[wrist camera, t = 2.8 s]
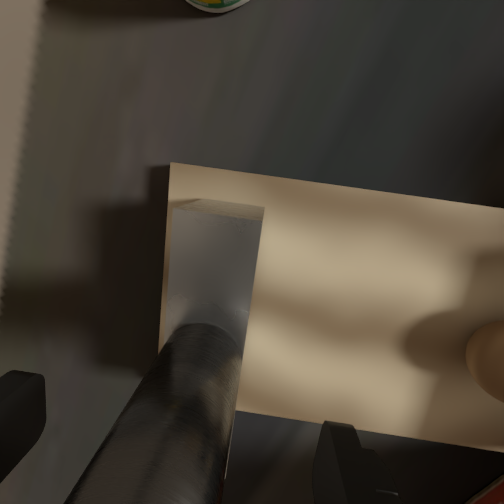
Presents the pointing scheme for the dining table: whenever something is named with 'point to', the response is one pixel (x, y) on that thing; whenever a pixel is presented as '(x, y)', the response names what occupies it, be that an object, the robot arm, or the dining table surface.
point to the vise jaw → (186, 369)
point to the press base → (362, 305)
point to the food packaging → (490, 493)
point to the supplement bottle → (217, 5)
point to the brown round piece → (487, 358)
